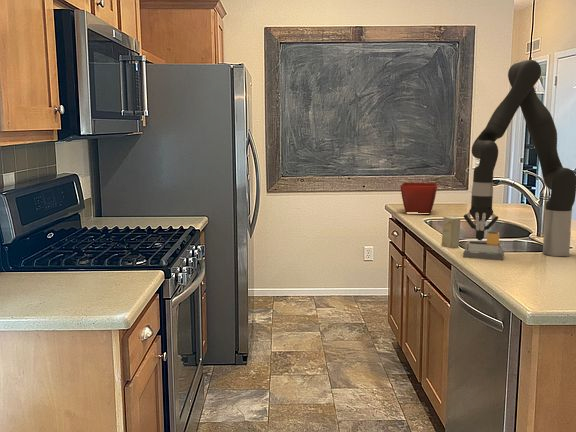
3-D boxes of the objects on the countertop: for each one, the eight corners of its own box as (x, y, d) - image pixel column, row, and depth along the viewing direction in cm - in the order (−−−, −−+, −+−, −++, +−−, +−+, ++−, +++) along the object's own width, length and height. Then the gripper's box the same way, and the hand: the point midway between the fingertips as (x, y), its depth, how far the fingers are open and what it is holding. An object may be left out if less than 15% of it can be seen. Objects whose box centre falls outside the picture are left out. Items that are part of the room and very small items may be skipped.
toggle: (498, 250, 227) (499, 231, 226) (497, 252, 224) (498, 233, 222) (487, 249, 229) (488, 230, 228) (486, 251, 225) (487, 232, 224)
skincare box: (441, 245, 249) (442, 216, 247) (450, 244, 250) (451, 215, 249) (450, 248, 243) (451, 218, 241) (459, 247, 245) (461, 217, 243)
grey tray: (504, 255, 229) (504, 242, 228) (502, 260, 221) (503, 246, 220) (466, 252, 234) (466, 240, 234) (463, 257, 226) (463, 244, 225)
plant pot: (399, 215, 336) (400, 185, 334) (403, 210, 354) (404, 182, 352) (434, 216, 331) (435, 186, 328) (436, 212, 349) (437, 183, 346)
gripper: (501, 194, 226) (498, 239, 228) (465, 192, 231) (462, 237, 233) (500, 196, 219) (497, 243, 221) (462, 194, 224) (460, 240, 226)
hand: (479, 240), depth 227 cm, fingers closed
